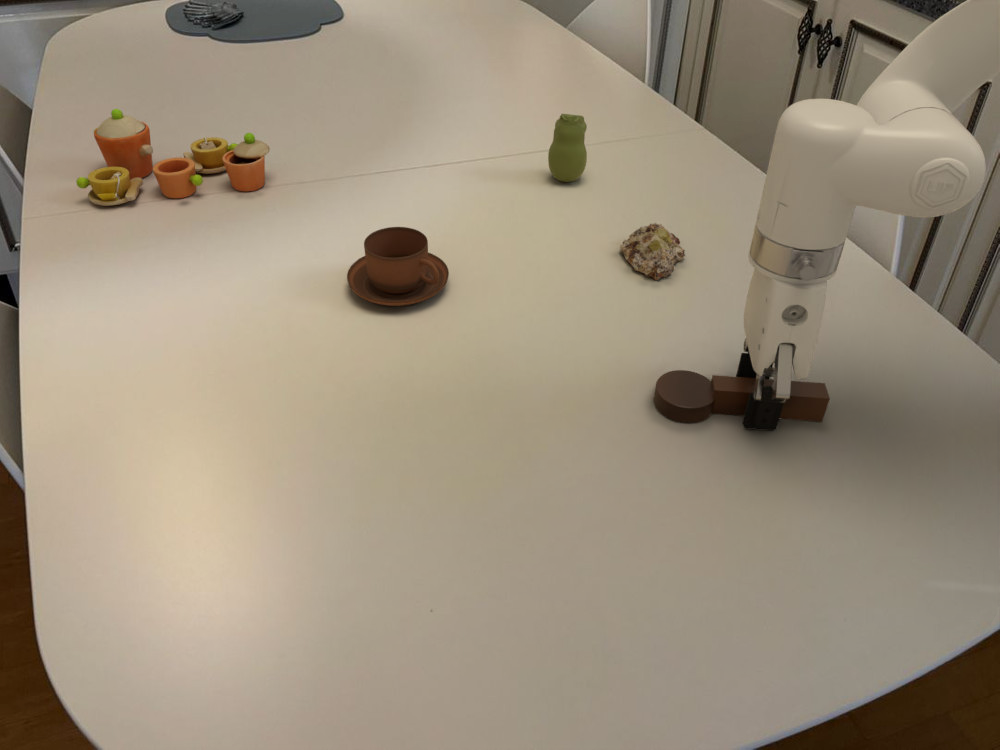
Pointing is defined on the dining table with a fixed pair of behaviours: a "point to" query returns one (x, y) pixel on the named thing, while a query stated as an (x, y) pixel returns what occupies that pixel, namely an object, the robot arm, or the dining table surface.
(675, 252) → the mineral rock
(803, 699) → the dining table surface
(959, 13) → the robot arm
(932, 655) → the dining table surface
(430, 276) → the cup and saucer
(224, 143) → the toy tea set
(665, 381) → the brown handled disc
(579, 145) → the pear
